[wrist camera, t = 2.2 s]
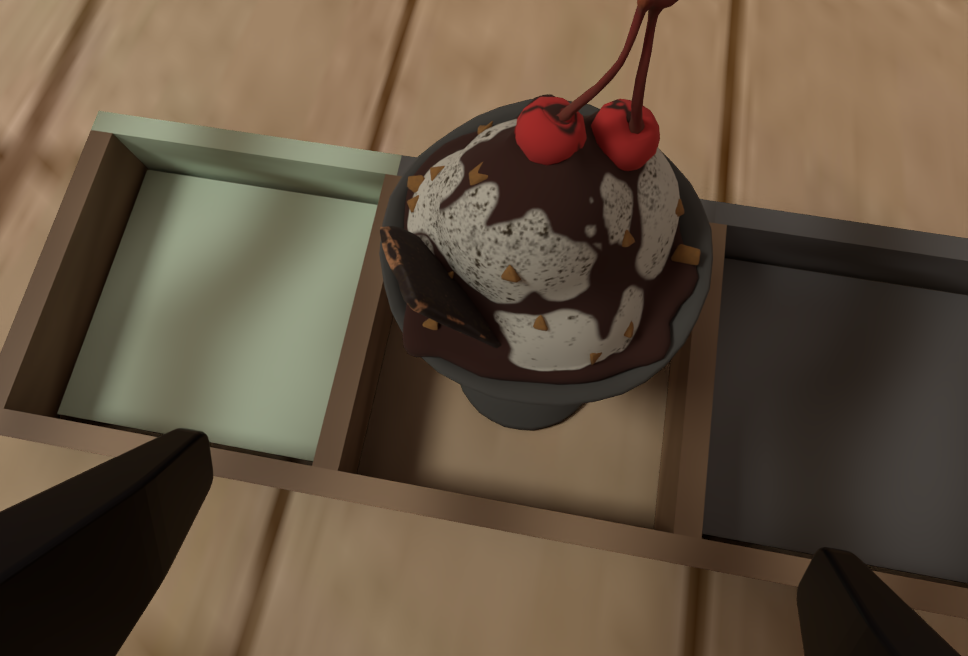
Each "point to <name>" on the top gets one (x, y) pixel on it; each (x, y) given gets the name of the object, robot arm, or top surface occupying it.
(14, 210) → the top surface
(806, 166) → the top surface
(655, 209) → the sundae
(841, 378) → the tray
